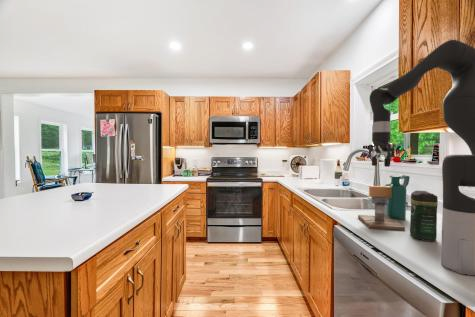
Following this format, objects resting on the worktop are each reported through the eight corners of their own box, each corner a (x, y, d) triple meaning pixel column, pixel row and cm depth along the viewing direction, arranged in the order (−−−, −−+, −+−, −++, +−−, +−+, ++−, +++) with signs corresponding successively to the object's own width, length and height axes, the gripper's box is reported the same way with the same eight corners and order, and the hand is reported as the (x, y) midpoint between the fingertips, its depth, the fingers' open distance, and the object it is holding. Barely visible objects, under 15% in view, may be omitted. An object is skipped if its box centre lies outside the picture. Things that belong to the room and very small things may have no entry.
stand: (404, 230, 106) (405, 208, 106) (369, 228, 109) (370, 207, 108) (387, 219, 123) (388, 200, 123) (358, 217, 126) (358, 199, 126)
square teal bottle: (388, 218, 125) (389, 175, 125) (382, 214, 133) (383, 174, 133) (410, 220, 123) (411, 176, 122) (403, 215, 131) (404, 174, 130)
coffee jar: (439, 243, 91) (441, 193, 91) (414, 240, 94) (415, 192, 94) (430, 235, 100) (431, 190, 100) (407, 232, 103) (408, 188, 103)
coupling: (388, 202, 118) (388, 185, 118) (393, 205, 111) (393, 187, 111) (366, 201, 120) (366, 185, 120) (370, 204, 114) (370, 186, 113)
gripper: (400, 130, 108) (399, 167, 109) (378, 133, 122) (377, 165, 123) (384, 130, 107) (383, 167, 108) (364, 132, 122) (363, 165, 122)
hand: (380, 166), depth 115 cm, fingers open, 8 cm apart
